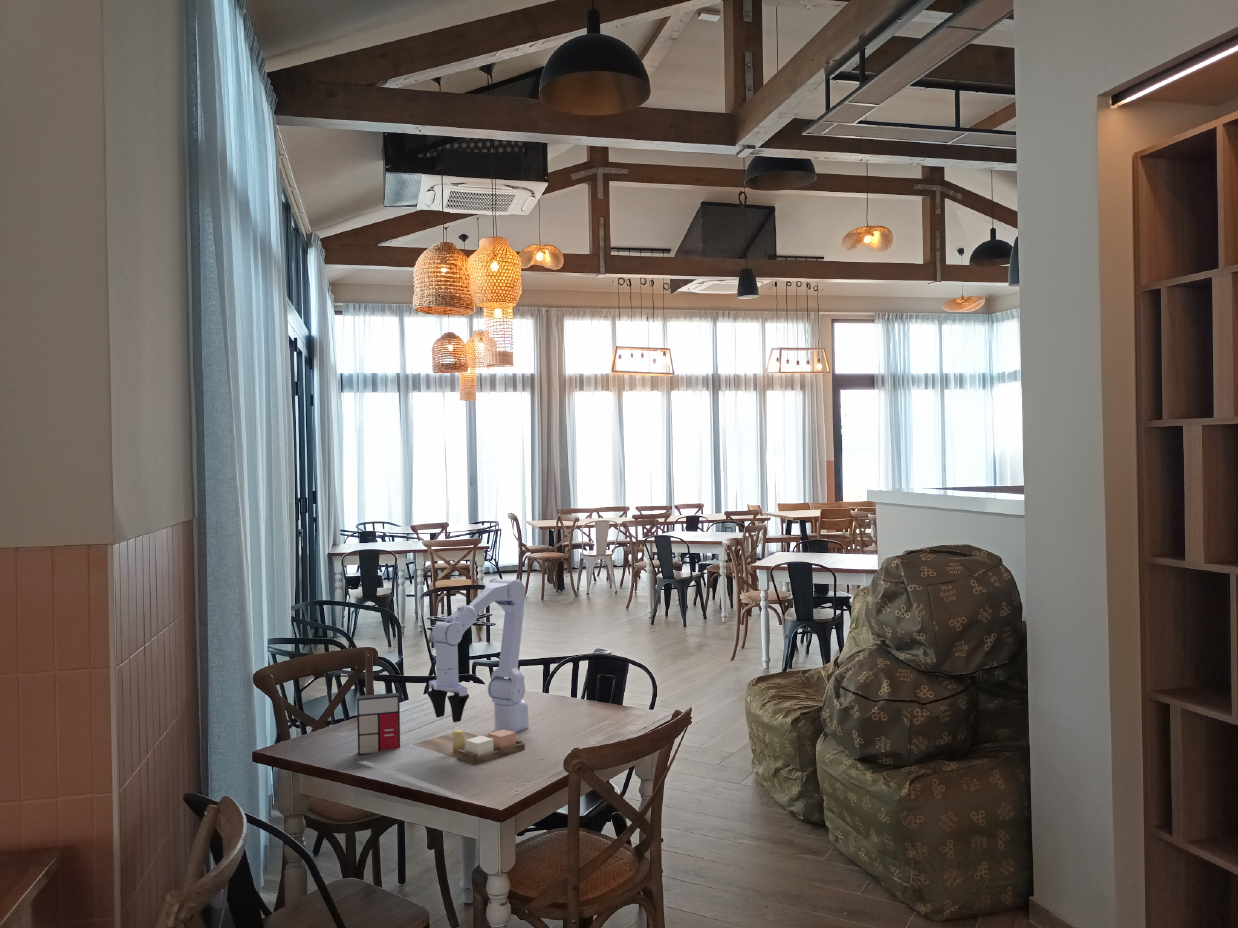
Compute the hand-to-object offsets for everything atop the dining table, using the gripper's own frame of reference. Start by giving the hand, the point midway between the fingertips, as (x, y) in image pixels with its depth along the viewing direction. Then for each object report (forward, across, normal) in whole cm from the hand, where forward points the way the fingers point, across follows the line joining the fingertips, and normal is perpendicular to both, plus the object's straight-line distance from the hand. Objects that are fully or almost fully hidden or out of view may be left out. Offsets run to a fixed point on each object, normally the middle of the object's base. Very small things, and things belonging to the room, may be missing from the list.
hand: (448, 718), depth 232 cm
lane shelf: (+10, +1, +6) cm, 11 cm away
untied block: (+8, +10, +10) cm, 17 cm away
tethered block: (+8, +7, +2) cm, 11 cm away
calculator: (+10, -17, -10) cm, 22 cm away
